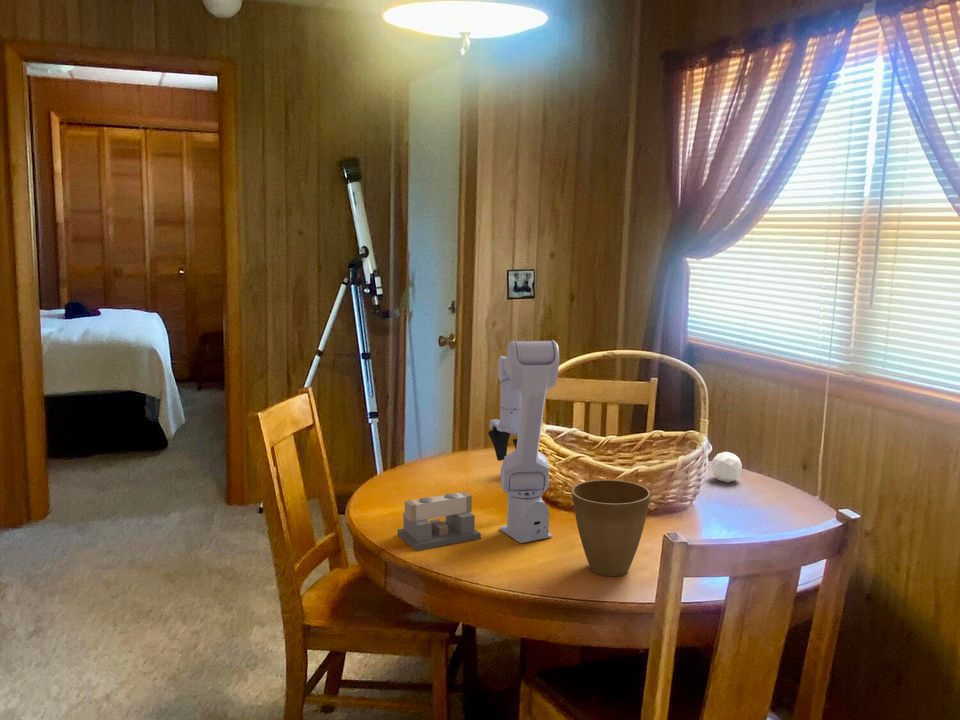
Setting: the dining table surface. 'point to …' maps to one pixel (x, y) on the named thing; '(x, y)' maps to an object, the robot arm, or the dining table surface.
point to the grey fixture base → (439, 531)
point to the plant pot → (610, 522)
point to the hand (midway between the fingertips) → (511, 463)
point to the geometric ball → (726, 467)
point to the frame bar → (438, 506)
